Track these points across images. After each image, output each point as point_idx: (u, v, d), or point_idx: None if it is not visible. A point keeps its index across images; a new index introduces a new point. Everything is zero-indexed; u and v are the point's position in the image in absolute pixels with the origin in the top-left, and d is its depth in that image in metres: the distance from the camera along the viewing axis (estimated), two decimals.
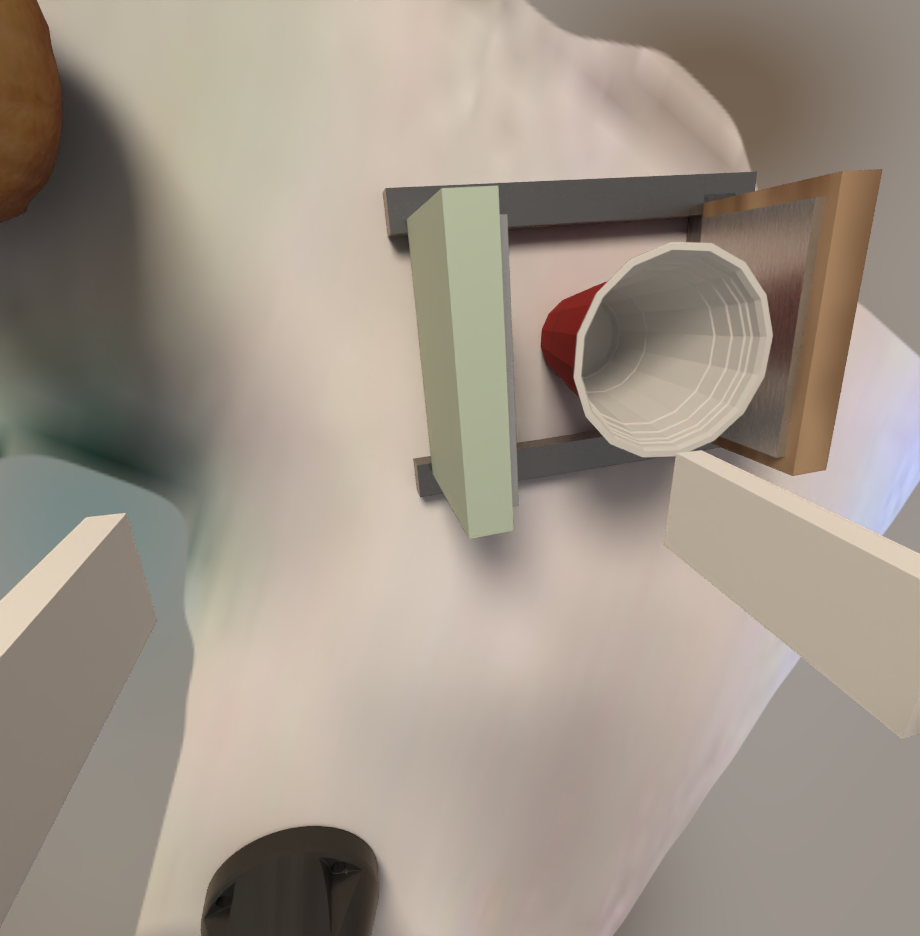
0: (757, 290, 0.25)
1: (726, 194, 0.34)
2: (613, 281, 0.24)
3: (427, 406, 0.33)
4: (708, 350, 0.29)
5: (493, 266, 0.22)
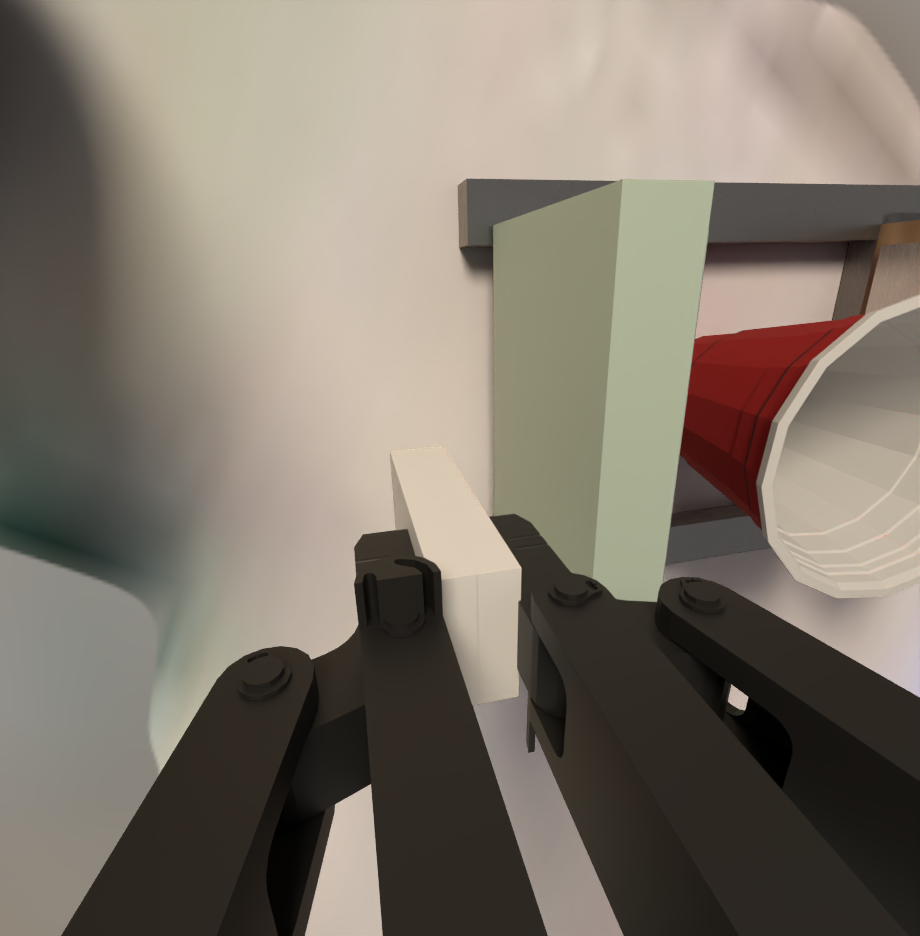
0: None
1: (910, 214, 0.25)
2: (846, 344, 0.15)
3: (498, 483, 0.24)
4: (915, 436, 0.21)
5: (683, 317, 0.13)
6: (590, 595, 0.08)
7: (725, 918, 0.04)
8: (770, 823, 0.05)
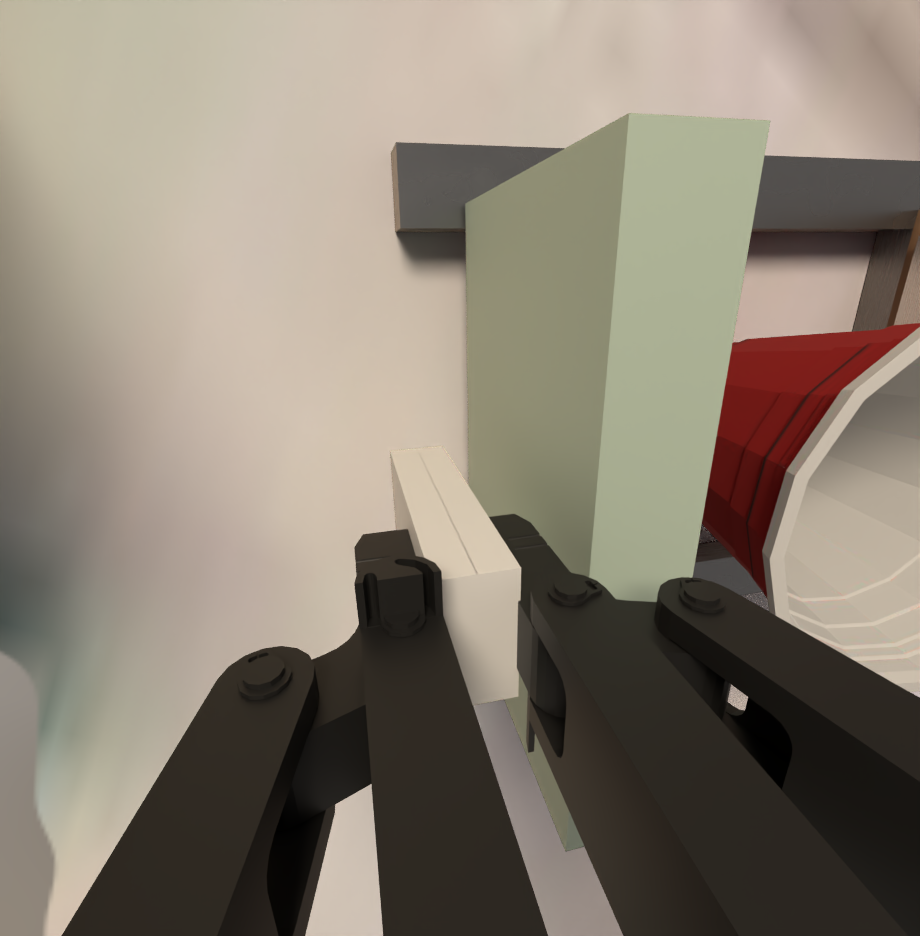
0: None
1: None
2: (893, 368, 0.11)
3: None
4: None
5: (716, 328, 0.09)
6: (590, 596, 0.08)
7: (725, 918, 0.04)
8: (770, 823, 0.05)
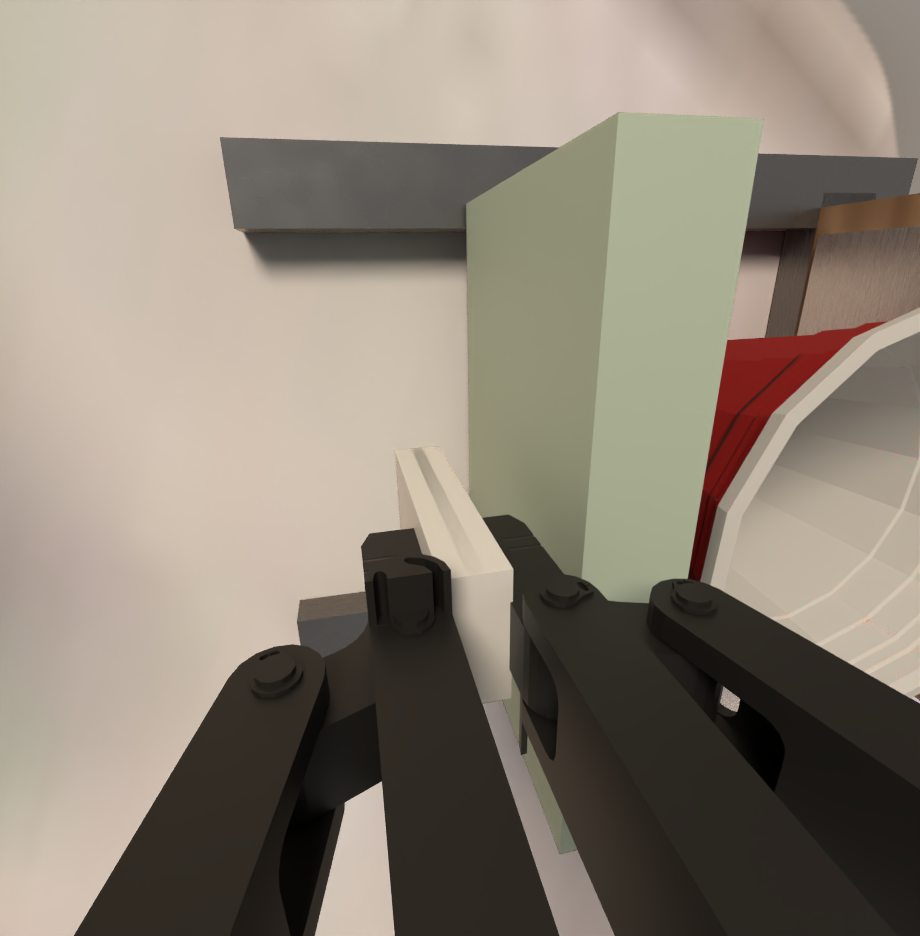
0: None
1: (861, 195, 0.19)
2: (827, 388, 0.09)
3: None
4: (901, 482, 0.16)
5: (709, 329, 0.09)
6: (582, 596, 0.08)
7: (717, 922, 0.04)
8: (762, 825, 0.05)
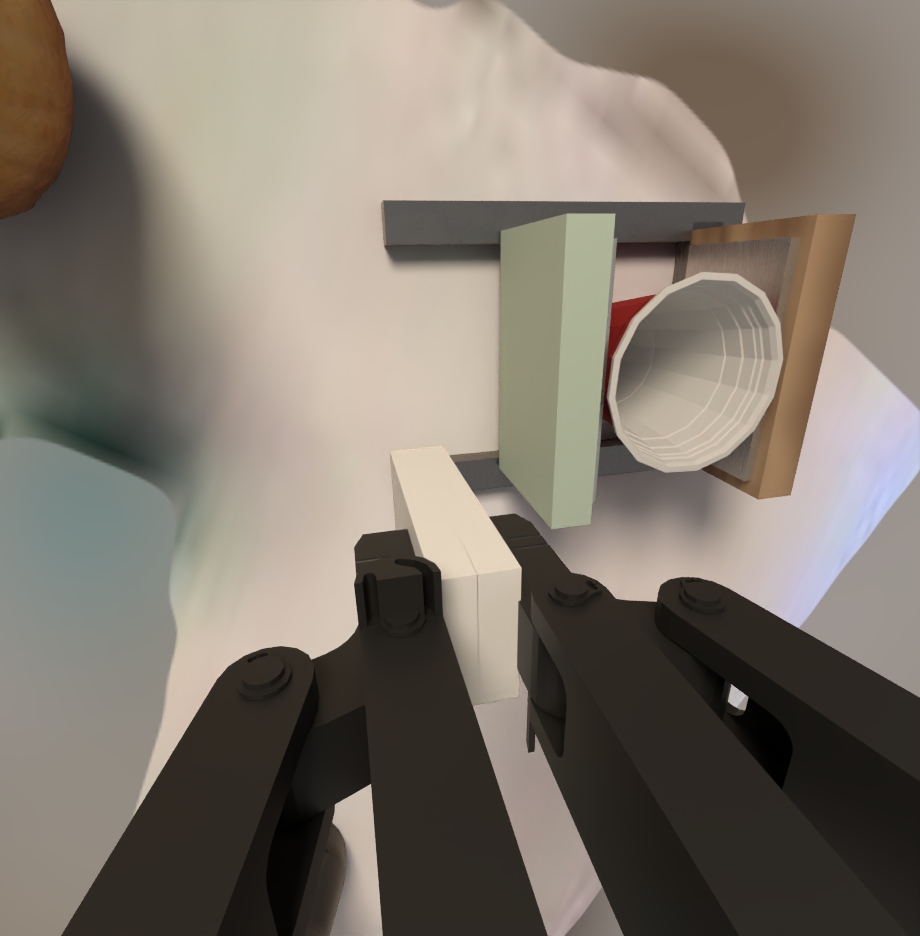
0: (773, 318, 0.27)
1: (714, 223, 0.35)
2: (649, 308, 0.25)
3: (502, 405, 0.35)
4: (718, 369, 0.31)
5: (602, 285, 0.24)
6: (590, 596, 0.08)
7: (725, 918, 0.04)
8: (770, 823, 0.05)
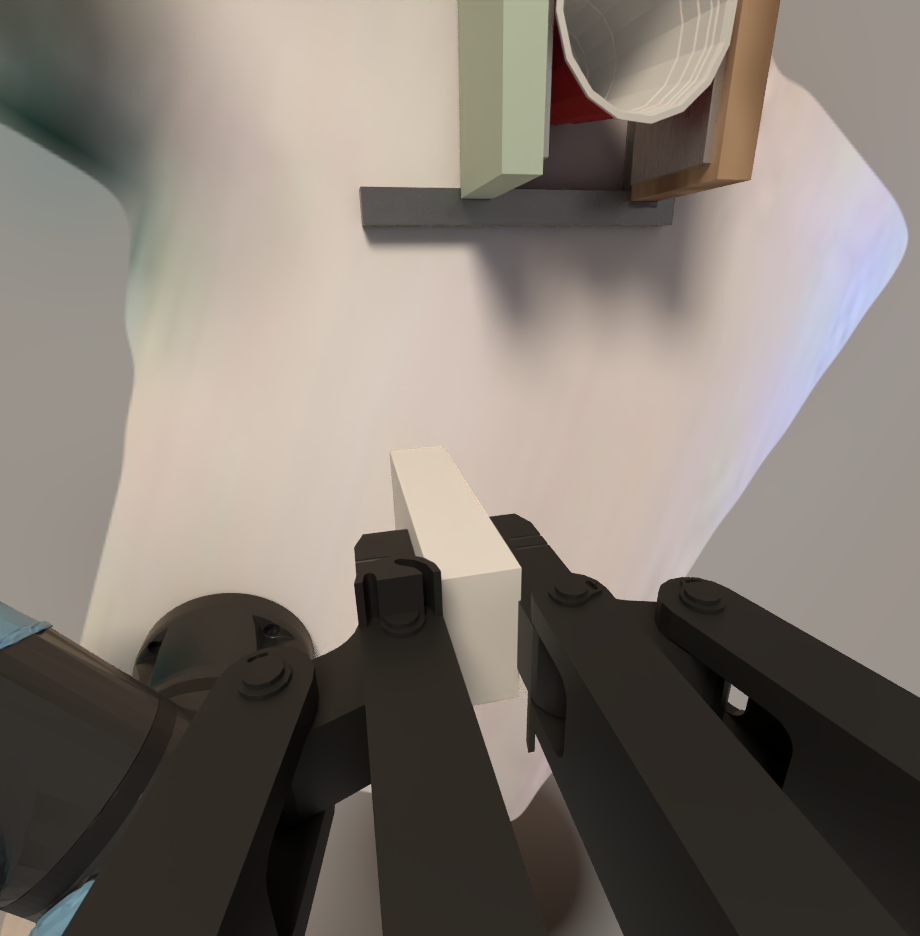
0: None
1: None
2: None
3: (462, 115, 0.35)
4: (676, 42, 0.31)
5: None
6: (590, 596, 0.08)
7: (725, 919, 0.04)
8: (770, 823, 0.05)
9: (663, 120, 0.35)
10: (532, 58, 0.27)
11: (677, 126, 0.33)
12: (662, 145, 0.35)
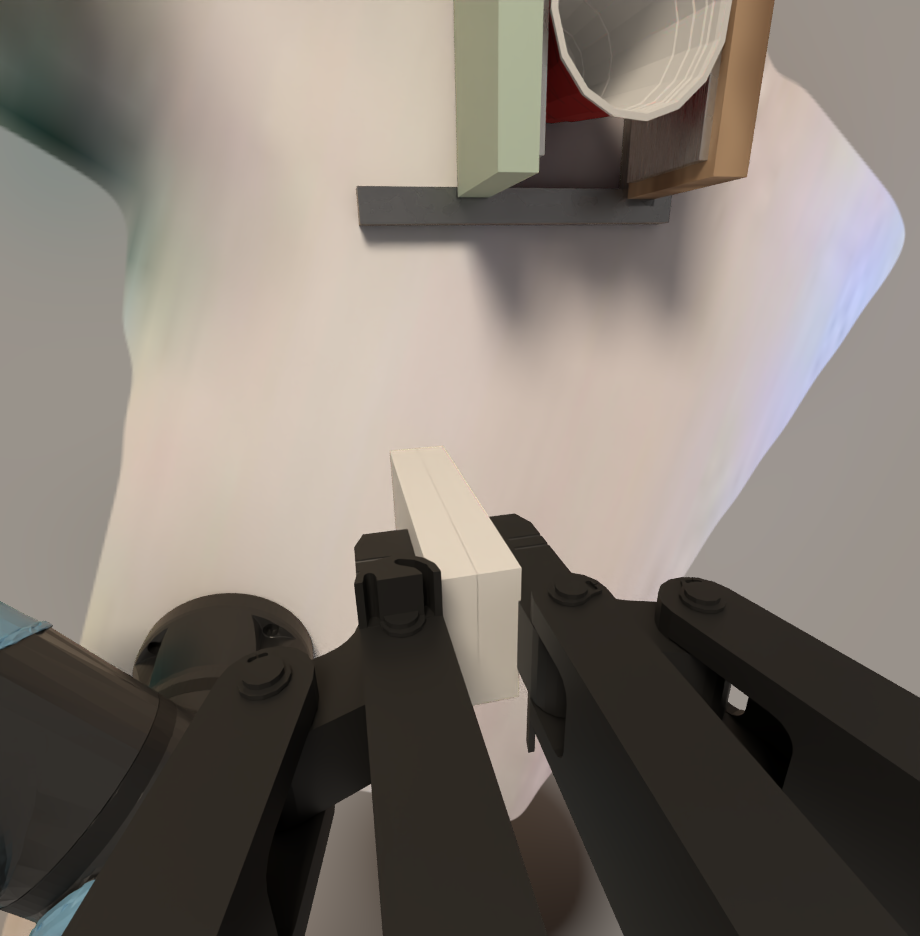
0: None
1: None
2: None
3: (458, 114, 0.35)
4: (672, 40, 0.31)
5: None
6: (590, 595, 0.08)
7: (725, 918, 0.04)
8: (770, 823, 0.05)
9: (659, 118, 0.35)
10: (527, 56, 0.27)
11: (673, 124, 0.33)
12: (658, 143, 0.35)
